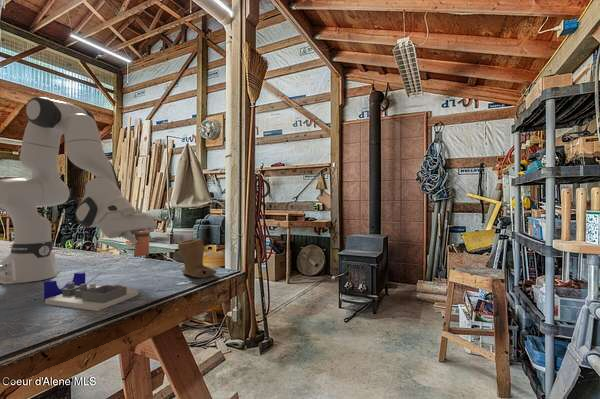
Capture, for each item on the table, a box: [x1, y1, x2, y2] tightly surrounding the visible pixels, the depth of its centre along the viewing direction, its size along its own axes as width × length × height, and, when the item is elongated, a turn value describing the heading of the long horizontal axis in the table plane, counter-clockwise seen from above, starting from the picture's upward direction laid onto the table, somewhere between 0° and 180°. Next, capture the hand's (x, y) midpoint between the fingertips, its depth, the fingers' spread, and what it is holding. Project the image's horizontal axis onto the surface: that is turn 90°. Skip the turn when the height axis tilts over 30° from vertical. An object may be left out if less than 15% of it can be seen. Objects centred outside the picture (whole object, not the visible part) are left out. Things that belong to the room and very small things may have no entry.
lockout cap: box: [134, 231, 150, 257], centre depth 107 cm, size 5×5×8 cm
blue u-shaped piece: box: [43, 271, 86, 301], centre depth 102 cm, size 12×4×6 cm, turn 169°
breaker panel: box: [44, 281, 139, 312], centre depth 97 cm, size 20×15×5 cm
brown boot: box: [177, 238, 217, 279], centre depth 127 cm, size 15×12×15 cm
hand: (143, 242), depth 107 cm, fingers closed on lockout cap, 4 cm apart
